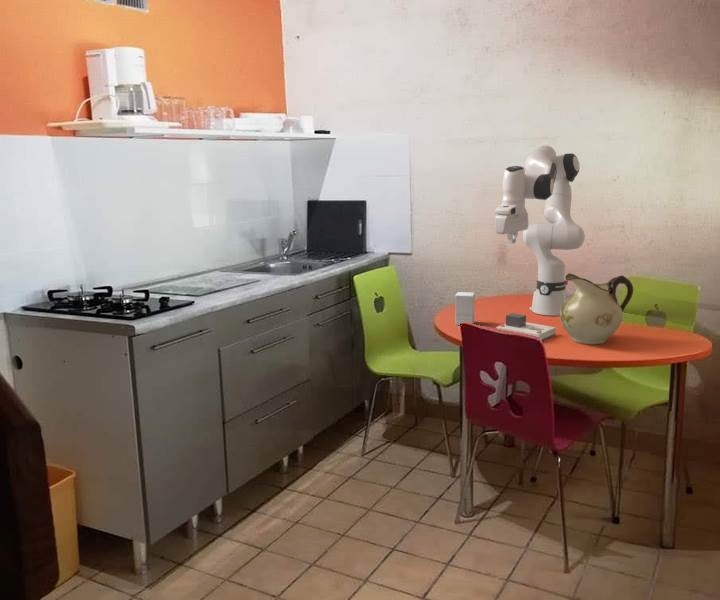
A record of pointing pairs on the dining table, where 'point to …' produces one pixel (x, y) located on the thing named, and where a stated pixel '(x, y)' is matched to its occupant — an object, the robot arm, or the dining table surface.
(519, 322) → the plug
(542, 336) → the double socket
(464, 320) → the supplement box
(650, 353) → the dining table surface
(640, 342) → the dining table surface
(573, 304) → the pitcher
